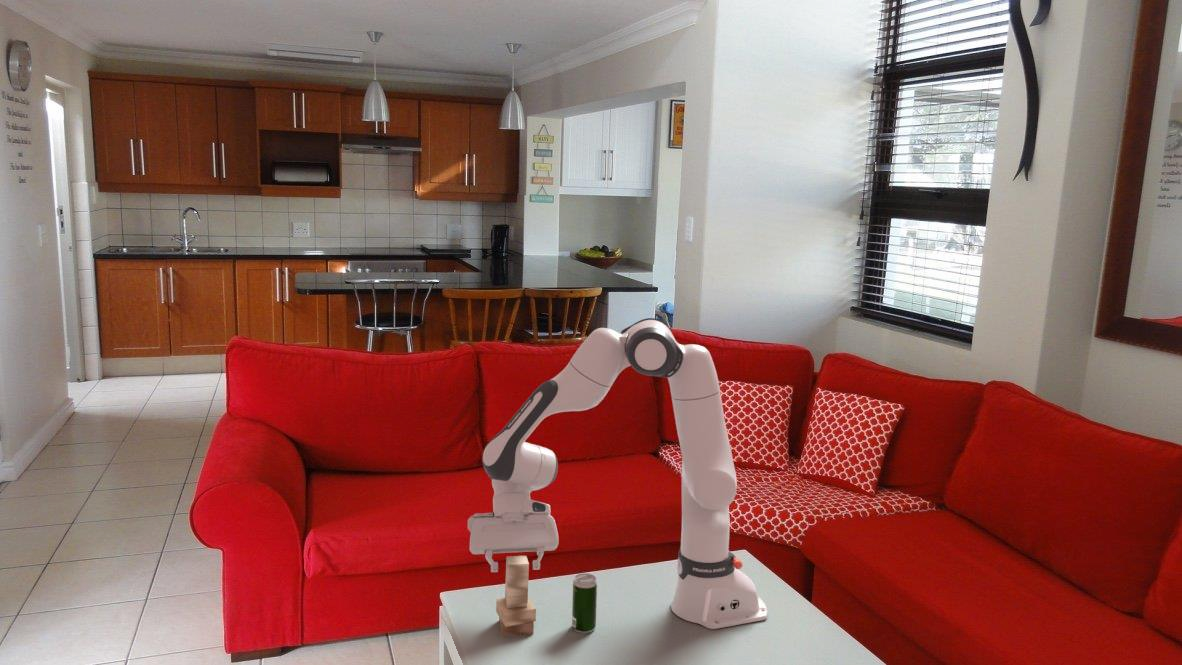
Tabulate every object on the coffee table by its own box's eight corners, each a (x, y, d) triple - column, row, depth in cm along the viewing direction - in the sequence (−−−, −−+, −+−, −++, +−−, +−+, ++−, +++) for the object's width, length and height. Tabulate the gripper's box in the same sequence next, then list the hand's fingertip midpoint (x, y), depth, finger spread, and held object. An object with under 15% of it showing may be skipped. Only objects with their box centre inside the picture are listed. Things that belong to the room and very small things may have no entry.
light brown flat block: (529, 619, 192) (530, 607, 192) (533, 635, 185) (533, 623, 185) (499, 621, 191) (499, 609, 190) (501, 638, 184) (501, 625, 183)
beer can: (580, 636, 185) (581, 586, 183) (567, 626, 189) (568, 576, 187) (600, 630, 188) (602, 580, 186) (587, 619, 192) (588, 570, 190)
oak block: (525, 606, 192) (525, 594, 191) (535, 621, 186) (535, 608, 185) (496, 611, 189) (496, 599, 189) (505, 626, 183) (505, 614, 182)
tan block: (524, 597, 190) (526, 555, 189) (527, 606, 186) (528, 563, 184) (504, 598, 189) (506, 556, 188) (507, 607, 185) (508, 564, 183)
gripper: (467, 508, 191) (469, 567, 183) (556, 504, 195) (561, 562, 187) (467, 519, 196) (468, 577, 188) (553, 515, 200) (558, 572, 192)
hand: (515, 570), depth 188 cm, fingers open, 8 cm apart
